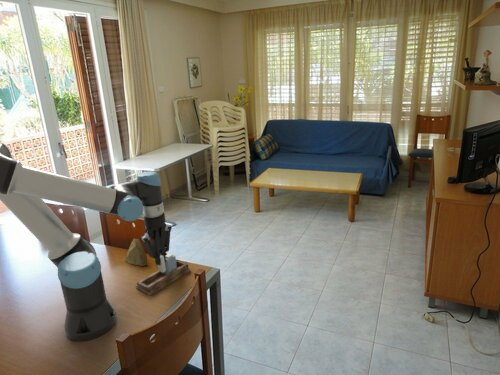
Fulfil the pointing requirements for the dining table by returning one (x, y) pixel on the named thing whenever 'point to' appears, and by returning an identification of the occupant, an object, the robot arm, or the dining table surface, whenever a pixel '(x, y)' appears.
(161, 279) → the wooden tray
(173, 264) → the rider
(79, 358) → the dining table surface
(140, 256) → the rock
